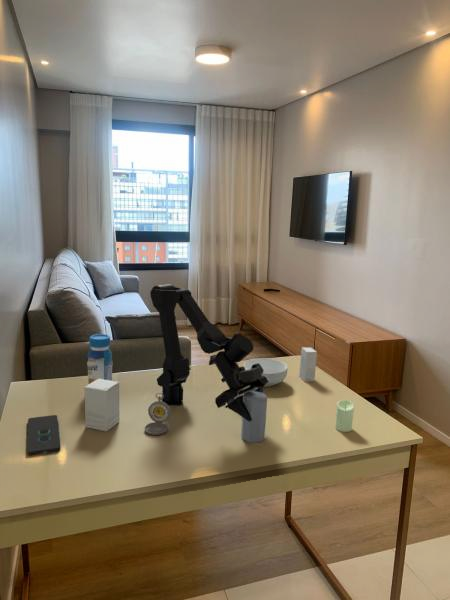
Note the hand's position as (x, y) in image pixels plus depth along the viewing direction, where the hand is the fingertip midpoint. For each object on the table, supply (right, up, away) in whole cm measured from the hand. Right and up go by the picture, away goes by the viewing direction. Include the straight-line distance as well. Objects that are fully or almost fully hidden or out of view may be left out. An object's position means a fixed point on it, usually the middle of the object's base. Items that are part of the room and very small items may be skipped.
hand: (257, 417), depth 128 cm
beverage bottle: (-52, +1, +28) cm, 59 cm away
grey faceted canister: (-1, -6, +2) cm, 7 cm away
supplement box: (-45, -4, +5) cm, 46 cm away
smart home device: (-60, -5, -2) cm, 60 cm away
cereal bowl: (+6, +2, +44) cm, 45 cm away
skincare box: (+23, +2, +50) cm, 55 cm away
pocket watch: (-29, -5, +4) cm, 30 cm away
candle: (+27, -6, +10) cm, 29 cm away
